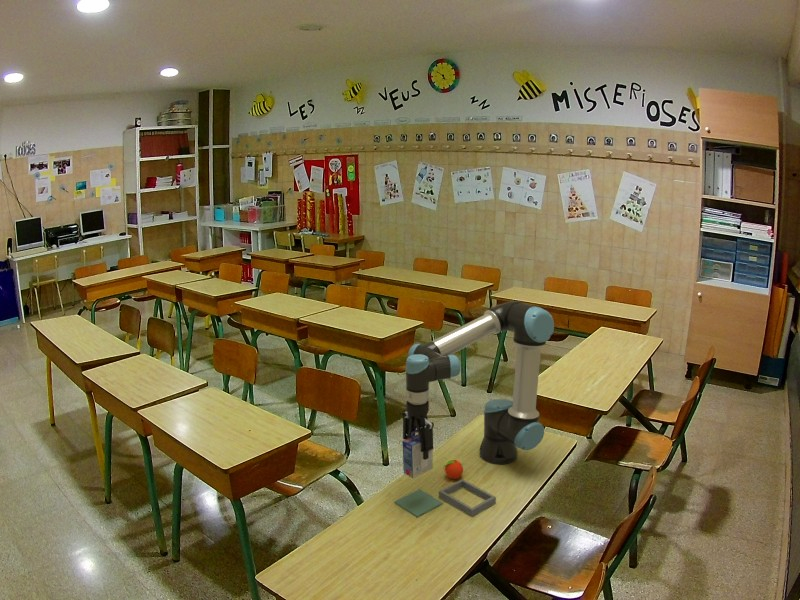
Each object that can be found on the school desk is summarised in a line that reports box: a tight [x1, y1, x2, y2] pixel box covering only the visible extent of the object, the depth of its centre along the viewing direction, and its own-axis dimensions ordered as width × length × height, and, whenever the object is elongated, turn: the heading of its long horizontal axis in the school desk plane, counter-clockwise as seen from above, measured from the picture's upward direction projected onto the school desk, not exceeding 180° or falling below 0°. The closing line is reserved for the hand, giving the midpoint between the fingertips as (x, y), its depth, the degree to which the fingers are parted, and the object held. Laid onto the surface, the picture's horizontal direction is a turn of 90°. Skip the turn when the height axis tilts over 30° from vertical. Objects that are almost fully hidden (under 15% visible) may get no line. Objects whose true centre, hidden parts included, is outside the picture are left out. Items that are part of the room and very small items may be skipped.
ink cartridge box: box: [401, 429, 434, 479], centre depth 209 cm, size 10×6×14 cm, turn 132°
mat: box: [394, 488, 444, 518], centre depth 214 cm, size 12×12×1 cm
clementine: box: [442, 459, 464, 480], centre depth 230 cm, size 8×7×7 cm
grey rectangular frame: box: [438, 478, 497, 518], centre depth 216 cm, size 12×16×2 cm
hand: (417, 463), depth 211 cm, fingers closed on ink cartridge box, 5 cm apart
